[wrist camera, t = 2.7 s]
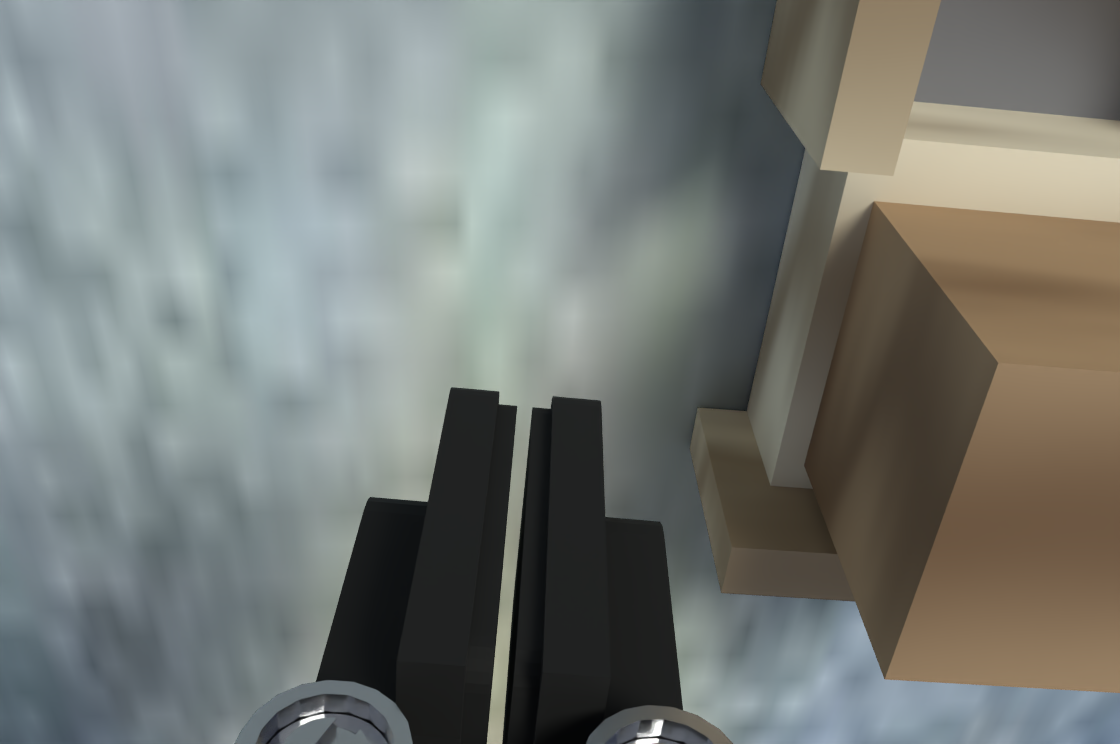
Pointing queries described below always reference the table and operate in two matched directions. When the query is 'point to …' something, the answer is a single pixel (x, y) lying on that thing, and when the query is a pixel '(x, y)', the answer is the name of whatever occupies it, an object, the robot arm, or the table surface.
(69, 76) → the table surface
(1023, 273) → the block
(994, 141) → the tray
